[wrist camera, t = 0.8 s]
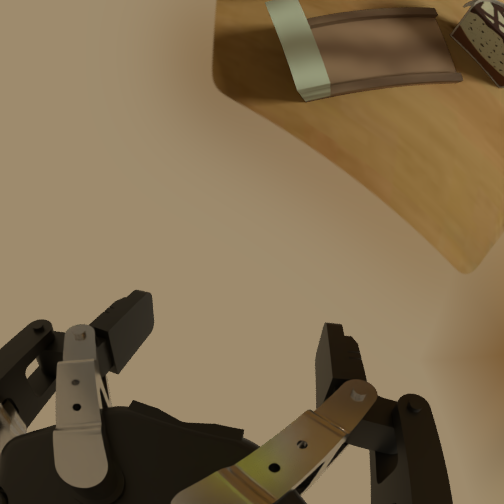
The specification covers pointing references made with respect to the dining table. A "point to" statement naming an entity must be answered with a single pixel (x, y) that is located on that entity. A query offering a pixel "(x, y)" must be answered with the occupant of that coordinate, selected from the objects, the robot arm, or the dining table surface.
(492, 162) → the dining table surface
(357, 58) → the stop track
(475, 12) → the food container
